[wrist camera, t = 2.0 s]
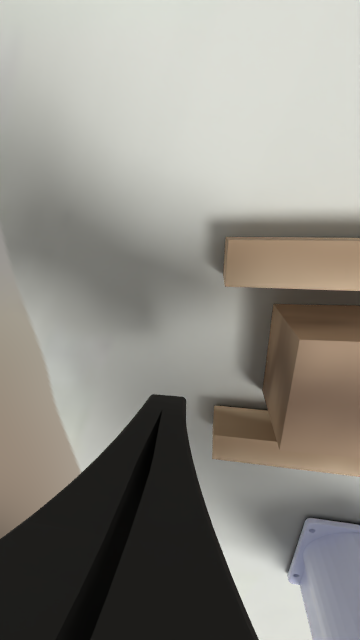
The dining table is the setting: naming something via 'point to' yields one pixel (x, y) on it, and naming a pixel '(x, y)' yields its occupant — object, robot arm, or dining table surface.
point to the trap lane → (290, 273)
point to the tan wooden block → (314, 378)
